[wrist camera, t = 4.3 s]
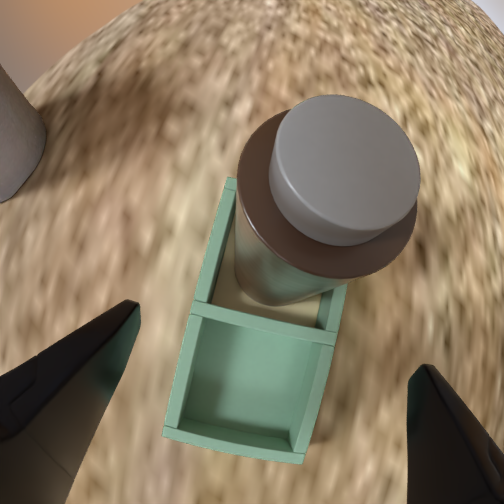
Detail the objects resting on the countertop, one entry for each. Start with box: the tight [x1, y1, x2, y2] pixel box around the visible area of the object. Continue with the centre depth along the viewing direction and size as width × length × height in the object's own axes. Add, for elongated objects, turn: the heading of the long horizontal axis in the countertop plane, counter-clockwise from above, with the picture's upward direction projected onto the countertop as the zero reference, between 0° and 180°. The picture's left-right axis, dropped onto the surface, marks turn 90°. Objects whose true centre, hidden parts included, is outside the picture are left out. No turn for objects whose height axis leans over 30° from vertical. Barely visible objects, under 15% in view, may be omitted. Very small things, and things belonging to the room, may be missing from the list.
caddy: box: [162, 177, 348, 464], centre depth 19 cm, size 16×8×3 cm, turn 167°
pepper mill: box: [234, 95, 420, 307], centre depth 13 cm, size 5×5×14 cm
